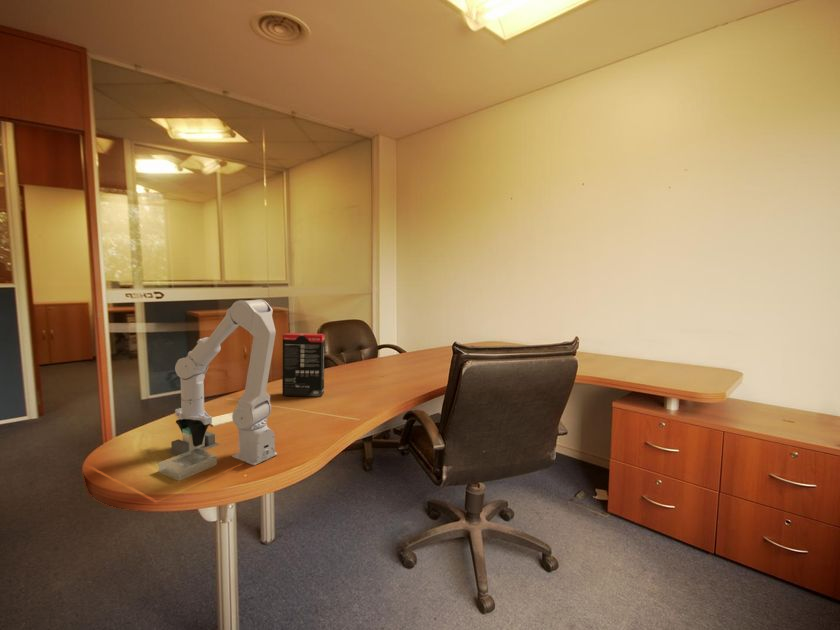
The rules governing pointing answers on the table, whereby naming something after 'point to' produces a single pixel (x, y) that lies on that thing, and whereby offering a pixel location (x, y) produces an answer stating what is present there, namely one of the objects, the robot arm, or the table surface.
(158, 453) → the table surface
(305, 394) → the graphics card box
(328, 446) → the table surface
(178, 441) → the holster
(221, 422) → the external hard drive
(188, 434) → the plug
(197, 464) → the port
